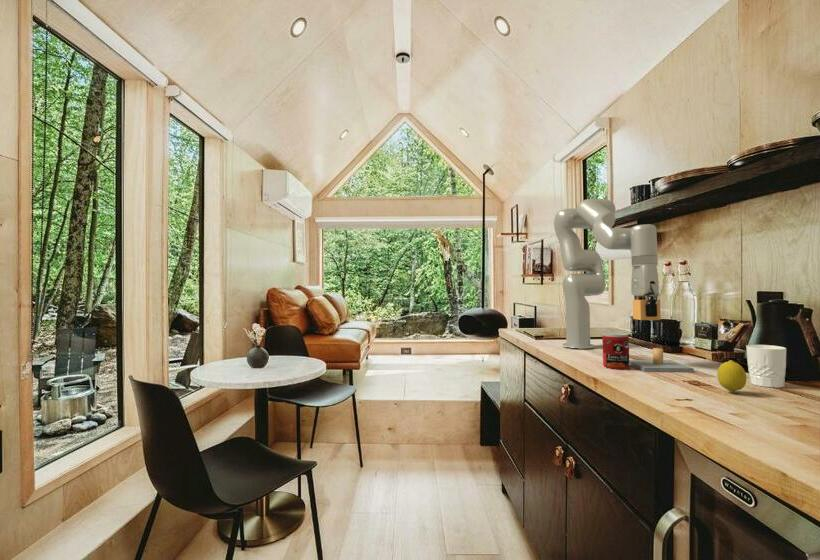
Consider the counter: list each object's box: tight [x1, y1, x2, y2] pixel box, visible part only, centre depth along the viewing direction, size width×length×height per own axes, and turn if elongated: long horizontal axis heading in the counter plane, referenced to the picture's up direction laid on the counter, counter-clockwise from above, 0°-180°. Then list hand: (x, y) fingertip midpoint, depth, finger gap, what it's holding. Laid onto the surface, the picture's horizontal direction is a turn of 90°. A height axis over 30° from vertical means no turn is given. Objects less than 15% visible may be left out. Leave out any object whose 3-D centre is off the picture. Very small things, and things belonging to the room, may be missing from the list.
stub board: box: [629, 347, 695, 373], centre depth 127 cm, size 13×14×6 cm
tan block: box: [631, 299, 662, 321], centre depth 132 cm, size 6×6×6 cm
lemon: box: [716, 360, 747, 394], centre depth 97 cm, size 6×6×8 cm
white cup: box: [745, 344, 787, 389], centre depth 105 cm, size 8×8×10 cm
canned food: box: [601, 331, 630, 371], centre depth 129 cm, size 8×8×11 cm
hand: (646, 315), depth 132 cm, fingers closed on tan block, 6 cm apart
